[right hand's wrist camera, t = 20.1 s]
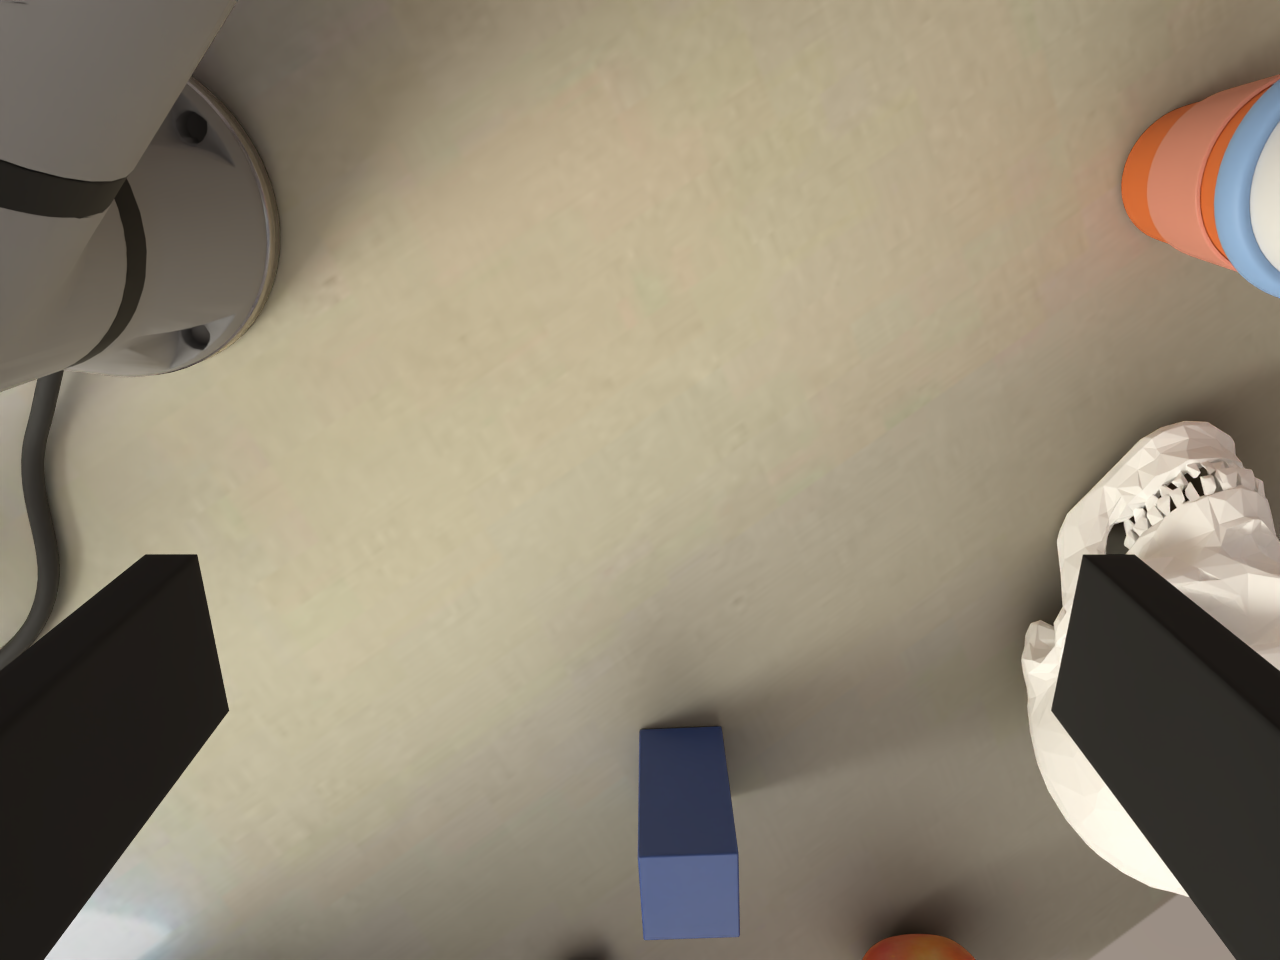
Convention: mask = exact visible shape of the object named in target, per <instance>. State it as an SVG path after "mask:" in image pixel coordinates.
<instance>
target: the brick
mask: <svg viewBox="0 0 1280 960" xmlns="http://www.w3.org/2000/svg"><path fill="white" fill-rule="evenodd" d="M638 867H639V881H640V895H641V910H642V924H643V938H644V940H663V939H692V938H722V937H739V936H740V916H739V860H738V847H737V839H736V832H735V824H734V817H733V809H732V802H731V794H730V787H729V779H728V772H727V764H726V756H725V749H724V741H723V734H722V728H721V727H720V726H717V727H692V728H667V729H642V730H640V732H639V806H638Z"/></svg>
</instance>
